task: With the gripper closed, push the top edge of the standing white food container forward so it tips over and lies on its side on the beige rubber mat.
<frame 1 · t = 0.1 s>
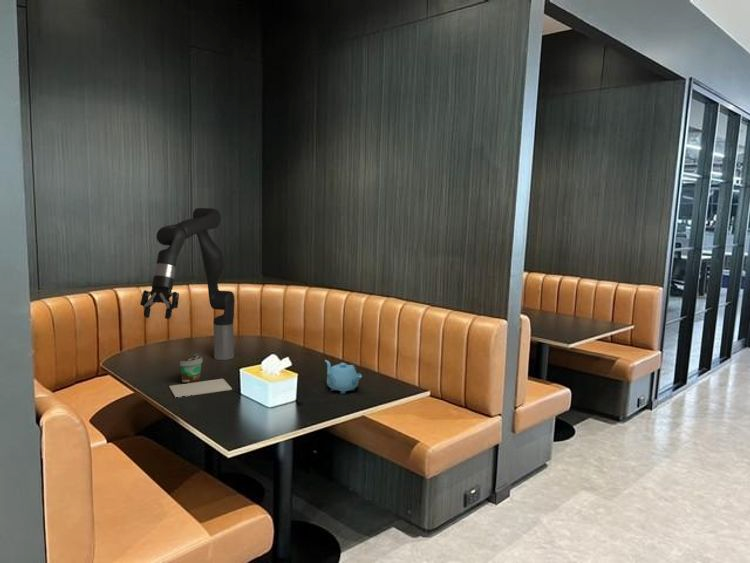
hand: (156, 318, 208), 31 cm above the table, tool tilted 20°, fingers open, 8 cm apart
food container: (194, 381, 233), on the table
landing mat: (200, 388, 224), on the table
teapot: (341, 390, 226), on the table
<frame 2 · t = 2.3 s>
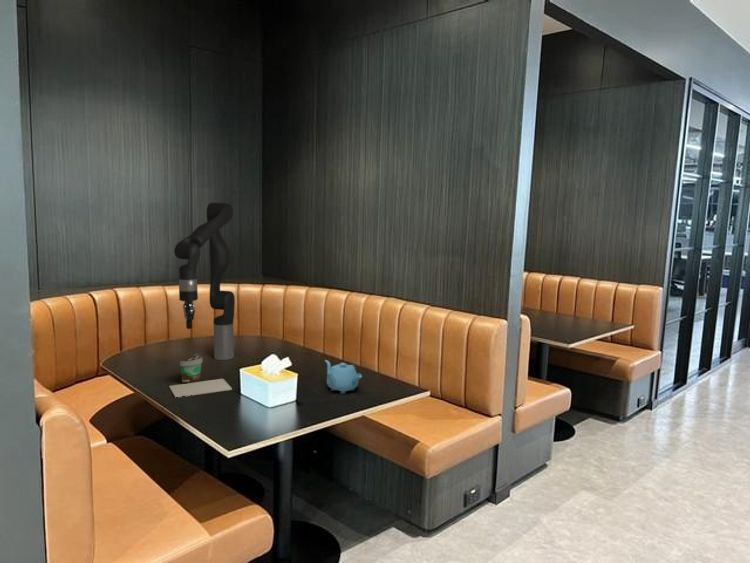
hand: (189, 328, 238), 21 cm above the table, tool pointing down, fingers closed
nothing on the table moved.
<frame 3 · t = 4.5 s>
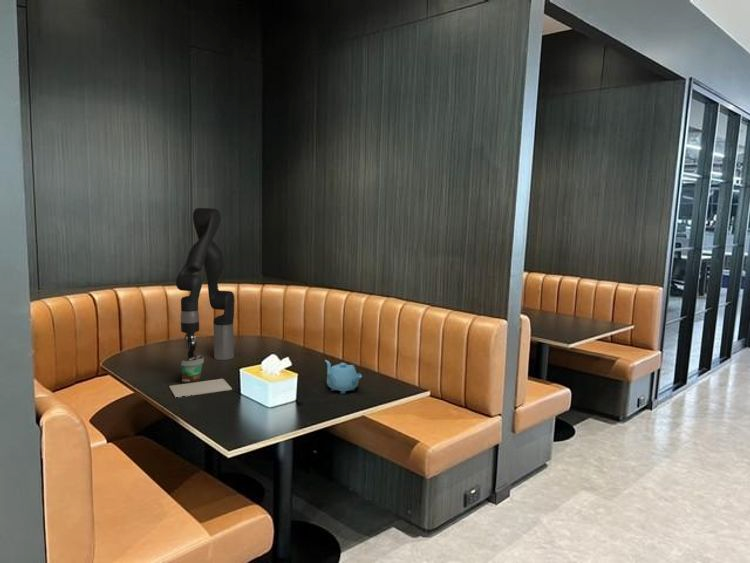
hand: (190, 359, 237), 8 cm above the table, tool pointing down, fingers closed
nothing on the table moved.
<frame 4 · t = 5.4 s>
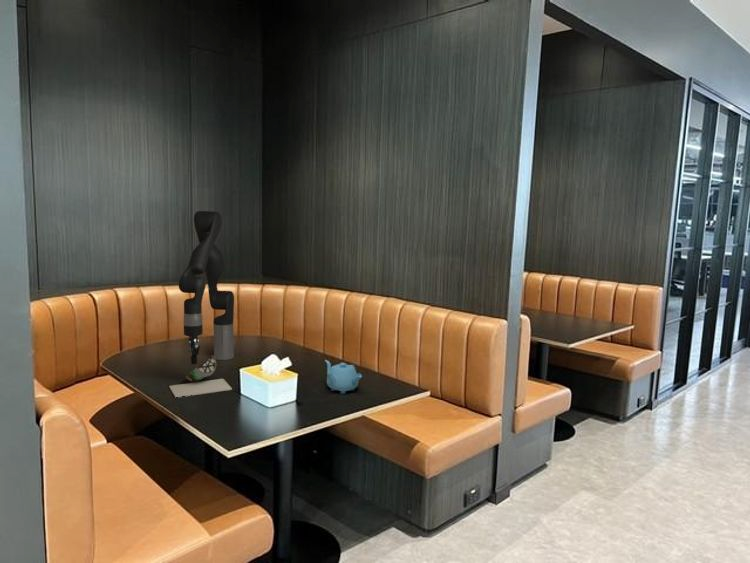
hand: (193, 363, 231), 8 cm above the table, tool pointing down, fingers closed
food container: (195, 377, 233), point 1 cm above the table
everything else where it was.
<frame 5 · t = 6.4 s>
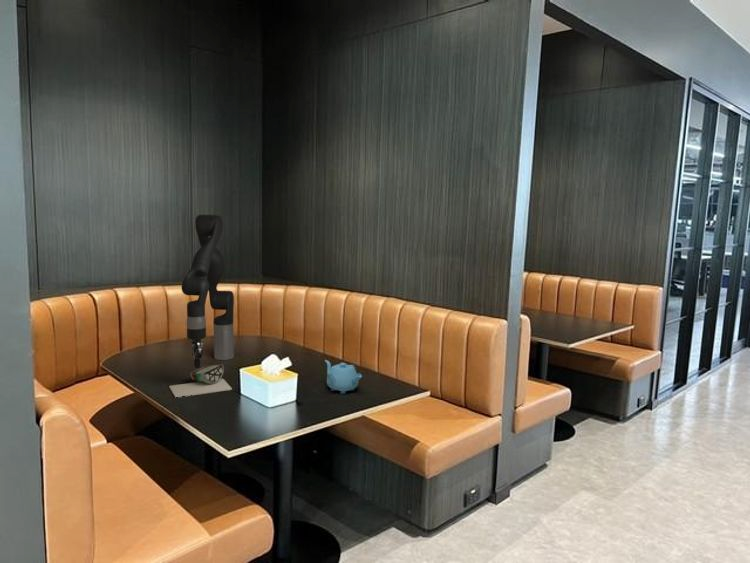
hand: (197, 367, 226), 8 cm above the table, tool pointing down, fingers closed
food container: (197, 376, 233), point 2 cm above the table, touching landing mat
everything else where it was.
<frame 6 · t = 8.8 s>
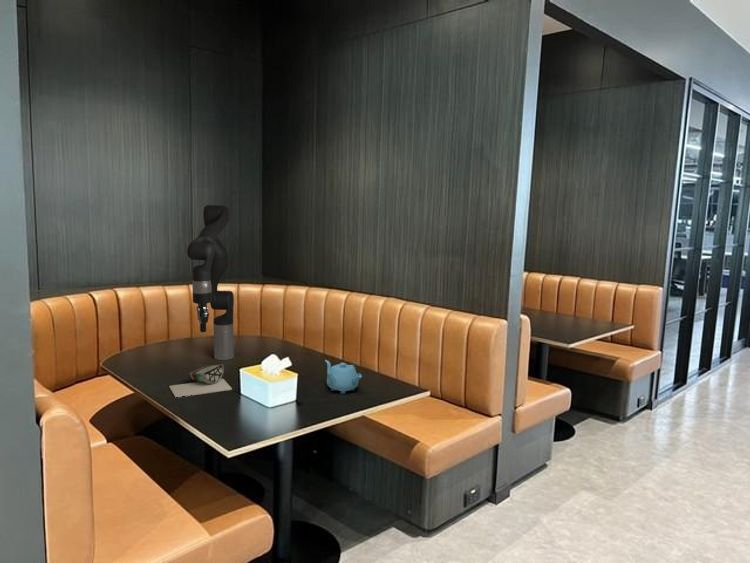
hand: (203, 331, 228), 22 cm above the table, tool pointing down, fingers closed
nothing on the table moved.
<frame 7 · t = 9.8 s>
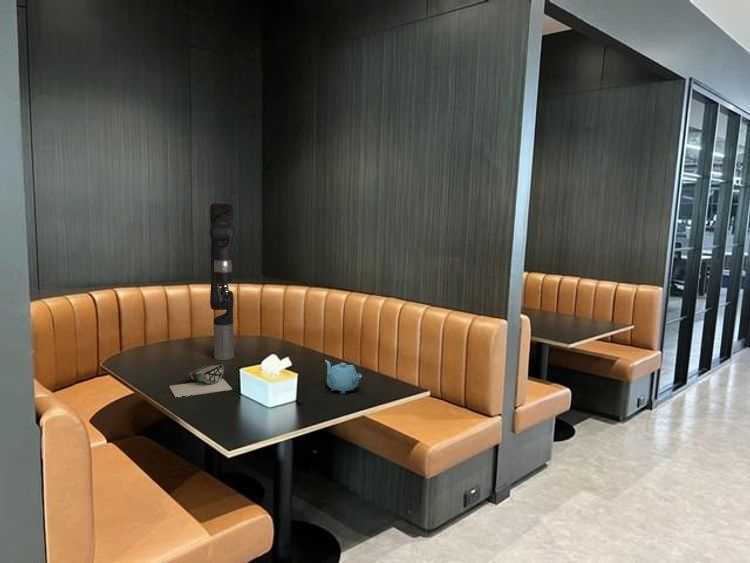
hand: (223, 309, 240), 29 cm above the table, tool pointing down, fingers closed
nothing on the table moved.
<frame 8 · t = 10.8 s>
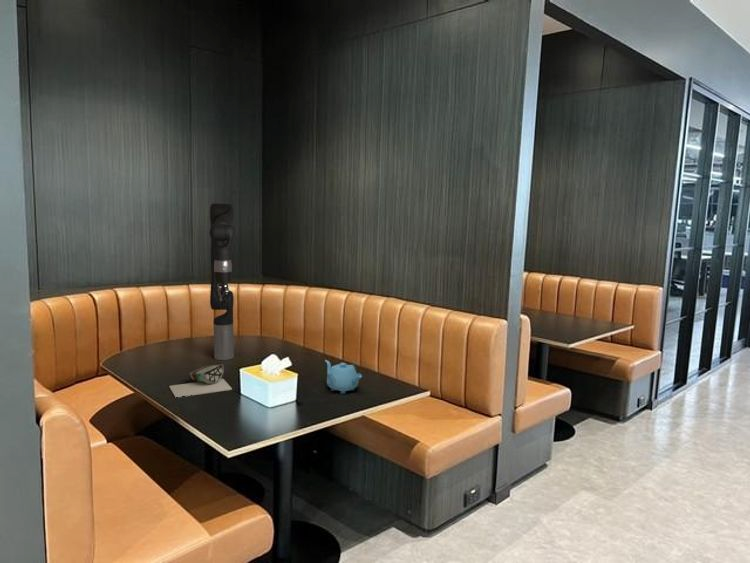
hand: (223, 309, 240), 29 cm above the table, tool pointing down, fingers closed
nothing on the table moved.
at the end: food container tilted 79°; food container touching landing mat, table; food container inside the target area (6.1 cm from its centre), point 1.8 cm above the table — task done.
